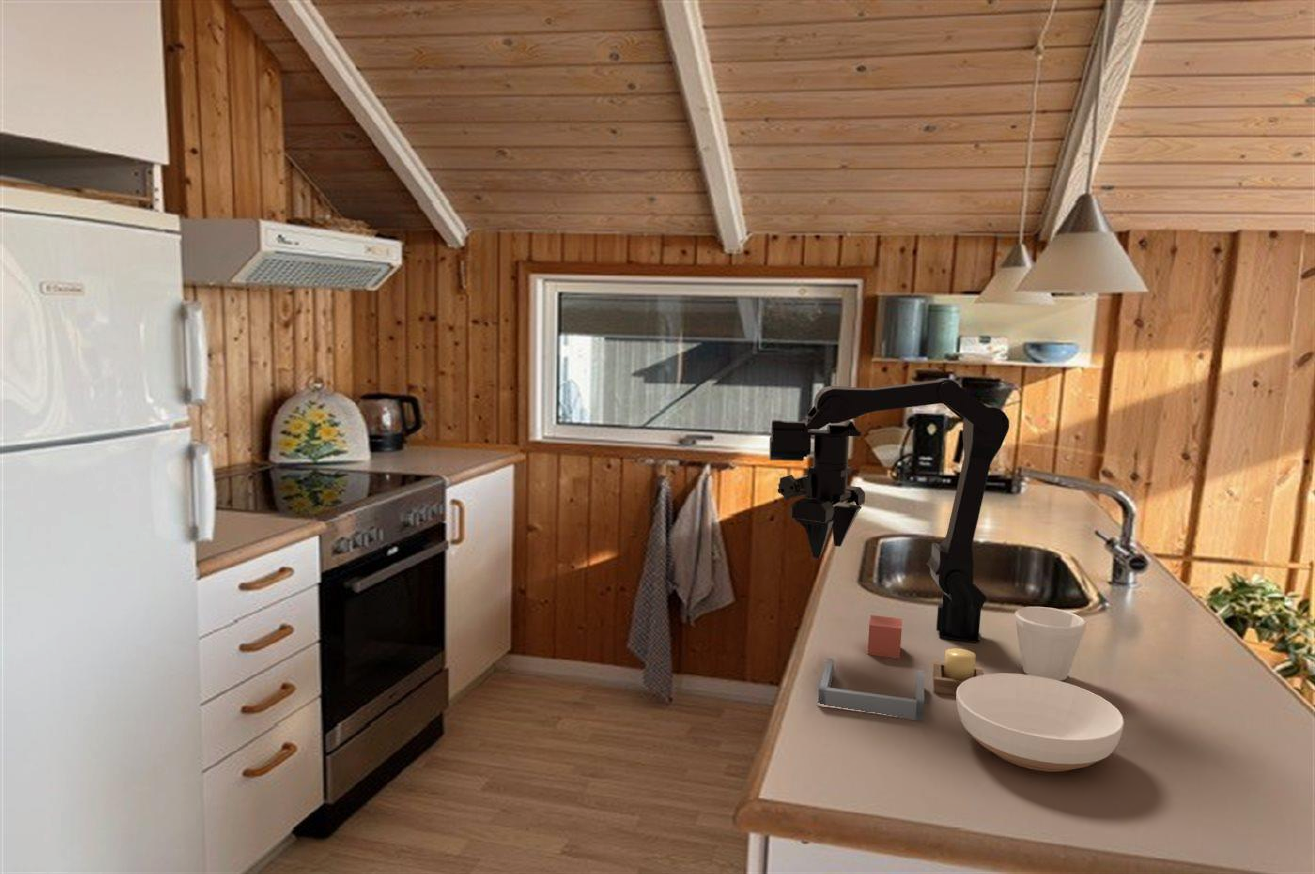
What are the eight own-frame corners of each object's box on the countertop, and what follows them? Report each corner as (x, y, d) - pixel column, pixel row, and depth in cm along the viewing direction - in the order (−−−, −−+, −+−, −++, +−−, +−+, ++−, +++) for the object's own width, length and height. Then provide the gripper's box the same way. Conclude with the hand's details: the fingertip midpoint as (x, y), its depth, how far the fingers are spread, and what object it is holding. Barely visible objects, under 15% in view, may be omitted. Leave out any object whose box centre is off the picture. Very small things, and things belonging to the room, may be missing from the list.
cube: (900, 647, 151) (902, 618, 150) (899, 658, 146) (901, 628, 145) (868, 643, 152) (870, 614, 151) (867, 654, 147) (869, 624, 147)
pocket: (922, 686, 135) (923, 670, 135) (923, 721, 124) (924, 703, 123) (826, 673, 139) (827, 657, 138) (817, 706, 127) (818, 688, 127)
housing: (981, 680, 138) (982, 667, 138) (984, 698, 131) (985, 685, 131) (932, 673, 140) (933, 661, 140) (933, 691, 133) (934, 678, 133)
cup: (1013, 658, 147) (1017, 602, 146) (1081, 670, 143) (1087, 613, 142) (1006, 679, 139) (1011, 620, 137) (1079, 693, 134) (1085, 632, 133)
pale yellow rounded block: (973, 670, 137) (974, 650, 136) (974, 681, 133) (976, 660, 132) (943, 667, 138) (945, 646, 138) (944, 677, 134) (945, 656, 134)
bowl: (1156, 778, 110) (1162, 730, 109) (1018, 799, 105) (1022, 748, 104) (1045, 709, 129) (1049, 667, 128) (922, 723, 123) (926, 679, 122)
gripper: (808, 450, 167) (805, 534, 169) (762, 464, 151) (760, 556, 154) (867, 456, 161) (864, 543, 163) (826, 471, 145) (822, 567, 148)
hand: (827, 551), depth 157 cm, fingers open, 9 cm apart
